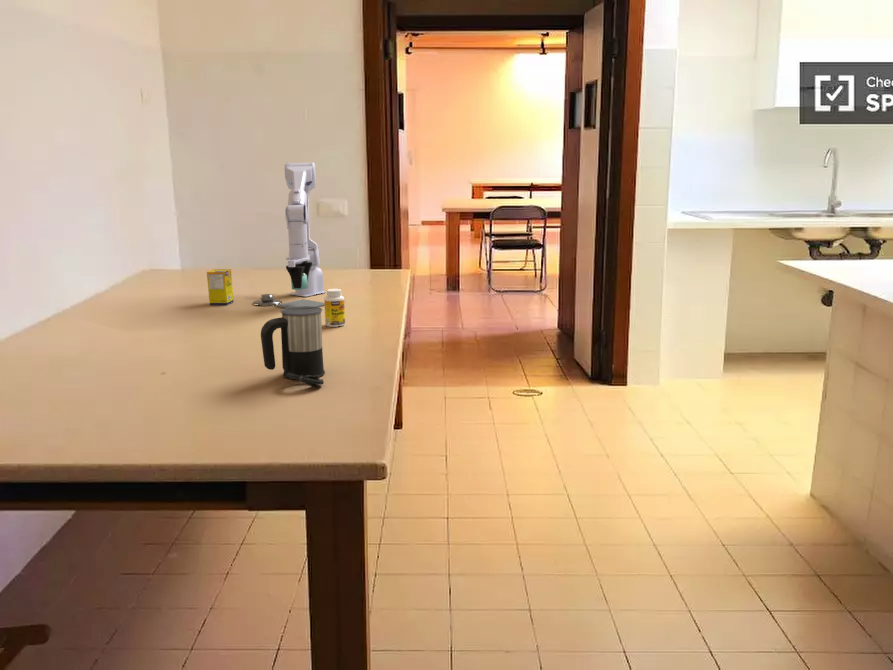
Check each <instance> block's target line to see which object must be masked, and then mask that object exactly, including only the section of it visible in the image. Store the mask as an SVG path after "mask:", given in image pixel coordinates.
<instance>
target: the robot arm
mask: <svg viewBox="0 0 893 670" xmlns="http://www.w3.org/2000/svg"><path fill="white" fill-rule="evenodd" d="M316 173H317V172H316V164H315V162H313V161H311V162H285V163H284V179H285V181H286V186H287V188H288V189H289V190H290V191H289V192H288V199H287V206H285V208H284V213H285V215H284V216H285V222H286V227H287V228H286V229H287V231H288V248H289V249H288V256H286V257H285V258H286V259H285V260H286V261H287V265H285V268H286V269H285V270H287V272H288V274H289V277H290V281H291V280H292V283H293V286H294V288H301V286H302V275H303V273H305V275H307V283H308V288H306V289H300V290H294V292H289V295H291V294H292V295H291V296H296V297H297V296H298V297H306V298H307V297H311V296H315V295H316V294H317V295H321V293H322V294H325V293H326V294H327V291H326V290H325V286H324V285H325V284H324V282H325V281H324V273H323V270H322V268H320V267H319V266H320V252H319V251H320V250H319V245H318V243H317V242H315V241H314V240H312V239H311V233H310V232H311V230H310V227H311V226H310V201H309V199H310V194H311V191H312V190H314V189H315V188H316V185H317V183H316V181H317V180H316V177H317V176H316V175H317V174H316Z"/></svg>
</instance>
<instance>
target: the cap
mask: <svg viewBox="0 0 893 670" xmlns="http://www.w3.org/2000/svg"><path fill="white" fill-rule="evenodd" d="M290 282H291V284H290V285H291V290H294V291H295V290H300V289H306V288H308V283H307V275H305V273H303V275H302V286H301V288H294V286H293V283H292V280H291V279H290Z"/></svg>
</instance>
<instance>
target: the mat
mask: <svg viewBox="0 0 893 670" xmlns="http://www.w3.org/2000/svg"><path fill="white" fill-rule="evenodd" d="M275 306H277V307H276V308H279V307H281V308H280V309H284V308H290V307H299V306H312V307H318V308H321V306H322V307H325V302H321V301H316V300H311V299H305V298H303V299H298V300H294V301H293V300H292V301H290V302H282V303H281V304H278V305H274V306H273V307H275Z"/></svg>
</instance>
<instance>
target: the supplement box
mask: <svg viewBox="0 0 893 670" xmlns="http://www.w3.org/2000/svg"><path fill="white" fill-rule="evenodd" d="M206 277H207V287H208V288H207V289H208V299H209V305H210V306H228V305H227V304H229V303H230V304H232V303H234V302H233V301H234V299H235V298H234V288H233V277H232V269H229V268H226V269H225V268H220V269H219V268H218V269H217V268H214V269H211V270H208V271H207V272H206ZM231 302H232V303H231ZM230 304H229V305H230Z"/></svg>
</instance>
